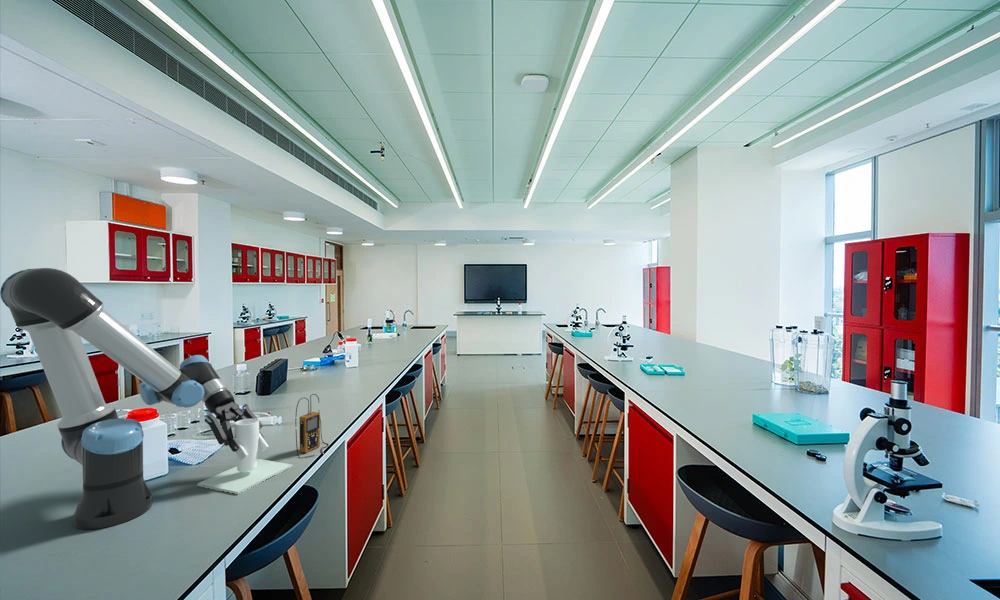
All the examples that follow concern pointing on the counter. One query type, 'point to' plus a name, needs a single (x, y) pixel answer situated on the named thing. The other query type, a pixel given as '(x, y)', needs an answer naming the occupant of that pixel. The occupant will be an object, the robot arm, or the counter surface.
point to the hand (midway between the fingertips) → (255, 453)
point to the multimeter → (309, 430)
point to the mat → (244, 477)
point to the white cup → (247, 442)
